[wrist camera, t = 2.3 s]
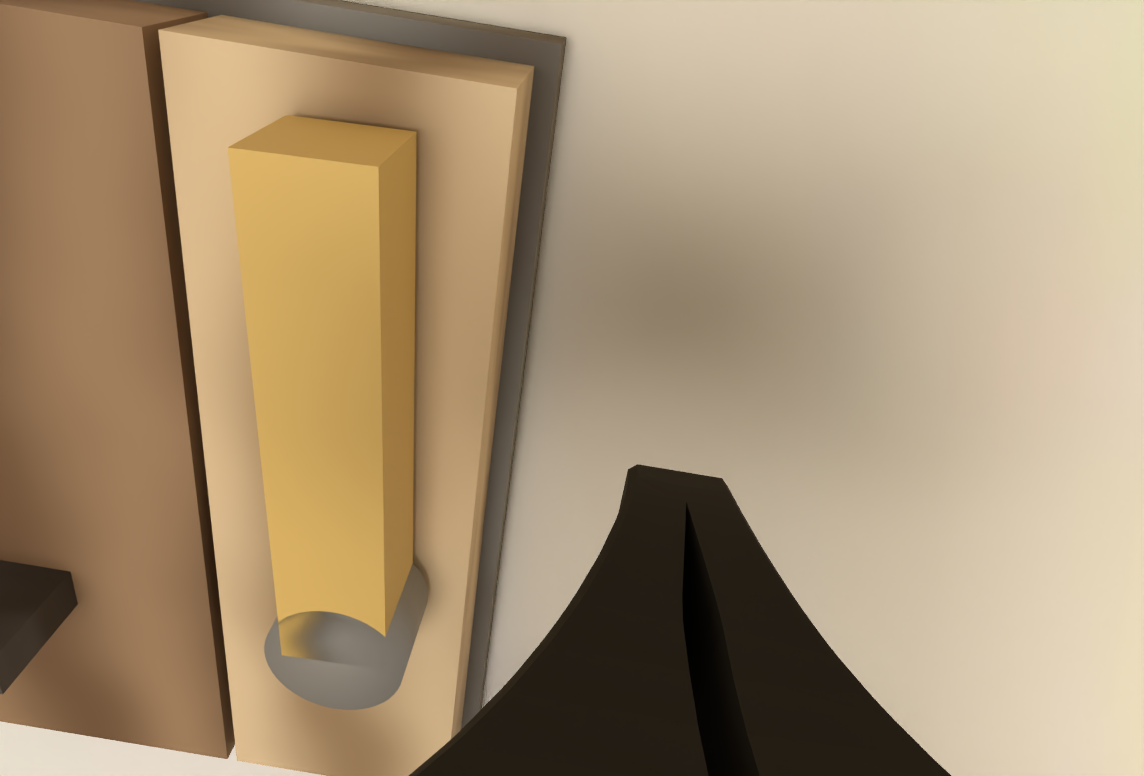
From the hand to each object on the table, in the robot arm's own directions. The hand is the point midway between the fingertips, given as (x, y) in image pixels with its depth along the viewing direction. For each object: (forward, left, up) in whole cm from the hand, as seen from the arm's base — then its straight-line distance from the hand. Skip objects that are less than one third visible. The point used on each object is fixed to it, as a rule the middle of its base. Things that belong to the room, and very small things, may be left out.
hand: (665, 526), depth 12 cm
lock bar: (+6, +3, -6) cm, 9 cm away
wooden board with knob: (+11, +6, -9) cm, 16 cm away
